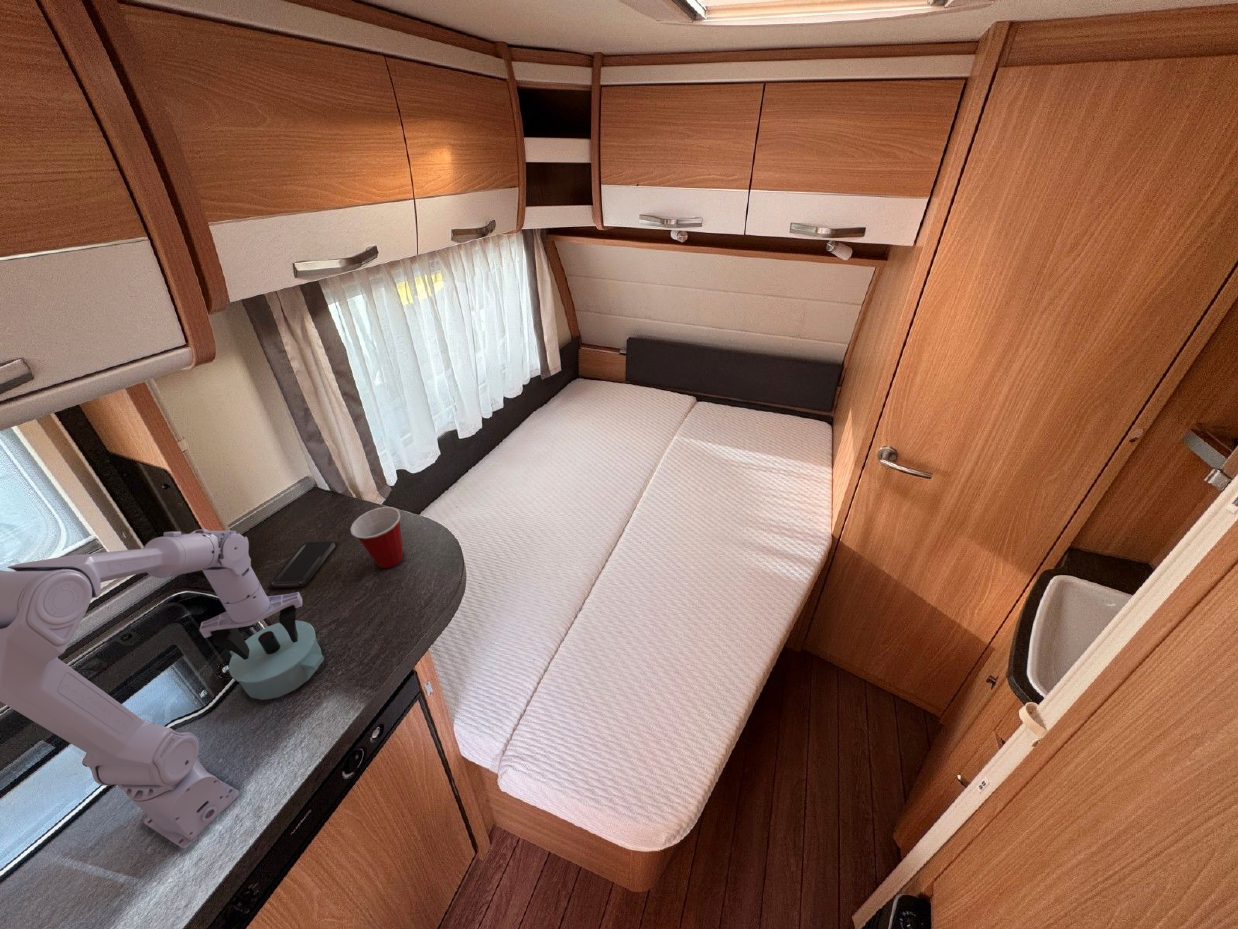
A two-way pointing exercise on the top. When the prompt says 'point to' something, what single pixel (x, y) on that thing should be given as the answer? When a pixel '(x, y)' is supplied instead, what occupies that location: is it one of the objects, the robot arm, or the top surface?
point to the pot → (286, 677)
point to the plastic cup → (380, 535)
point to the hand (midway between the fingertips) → (271, 646)
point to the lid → (272, 653)
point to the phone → (303, 564)
